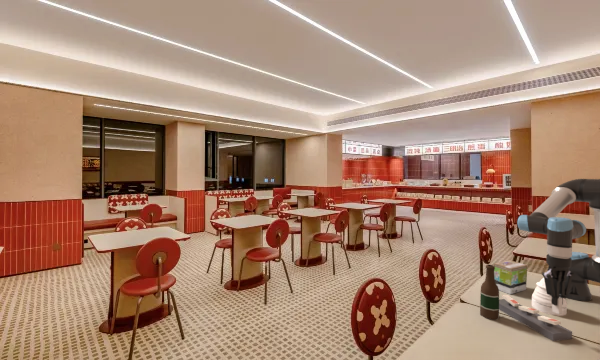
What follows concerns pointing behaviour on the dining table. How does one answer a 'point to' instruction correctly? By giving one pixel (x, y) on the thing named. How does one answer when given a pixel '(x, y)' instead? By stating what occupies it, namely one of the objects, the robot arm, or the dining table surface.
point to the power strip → (535, 322)
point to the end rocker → (549, 320)
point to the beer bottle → (489, 295)
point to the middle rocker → (528, 309)
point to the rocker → (511, 300)
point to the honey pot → (545, 300)
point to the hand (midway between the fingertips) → (556, 312)
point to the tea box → (510, 276)
